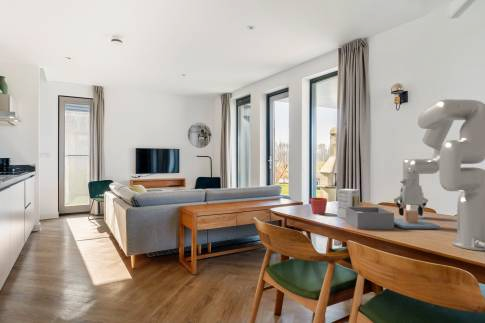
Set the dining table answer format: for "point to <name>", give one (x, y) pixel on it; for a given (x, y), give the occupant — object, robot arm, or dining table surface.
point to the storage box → (369, 218)
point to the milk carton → (414, 207)
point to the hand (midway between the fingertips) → (410, 215)
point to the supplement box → (347, 200)
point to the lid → (413, 221)
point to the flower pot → (318, 205)
